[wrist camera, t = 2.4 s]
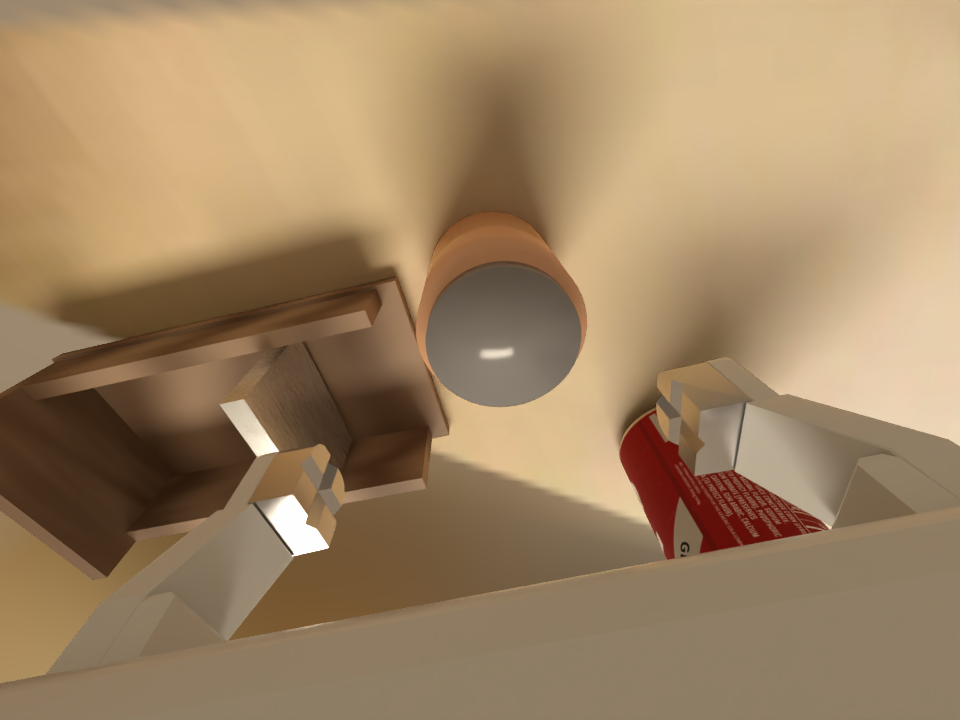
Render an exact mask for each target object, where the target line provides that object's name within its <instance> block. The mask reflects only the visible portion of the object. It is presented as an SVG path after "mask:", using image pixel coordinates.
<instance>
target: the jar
mask: <svg viewBox="0 0 960 720" xmlns="http://www.w3.org/2000/svg"><path fill="white" fill-rule="evenodd" d="M586 329H587V314H586V308H585V304H584V301H583V298H582V295H581V293H580V291H579V289H578V287H577V285H576V284H575V283H574V281H573V280H572V278H571V277H570V276H569V274H568V273H567V271H566V270H565V269H564V267H563V266H562V265H561V263H560V262H559V260H558V259H557V258H556V256H555V255H554V254H553V252H552V251H551V249H550V248H549V247H548V245H547V244H546V243H545V241H544V240H543V238H542V237H541V236H540V234H539V233H538V232H537V231H536V230H535V229H534V228H533V227H532V226H531V225H530V224H528V223H527V222H526V221H524V220H522V219H521V218H519V217H516V216H514V215H511V214H507V213H504V212H495V211H494V212H482V213H477V214H473V215H470V216H468V217H466V218H464V219H461V220H460V221H458V222H457V223H455V224H454V225H453V226H452V227H450V228H449V229H448V230H447V231H446V232H445V234H444V235H443V236H442V237H441V239H440V240H439V242H438V244H437V246H436V248H435V250H434V253H433V256H432V259H431V263H430V267H429V270H428V274H427V278H426V282H425V286H424V290H423V294H422V298H421V302H420V305H419V309H418V314H417V320H416V338H417V344H418V348H419V351H420V354H421V356H422V358H423V361H424V362H425V364H426V366H427V367H428V369H429V370H430V371H431V373H432V374H433V375H434V376H435V377H436V378H437V379H438V380H439V381H440V382H441V383H442V384H443V385H444V386H445V387H447V388H448V389H449V390H450V391H451V392H453V393H454V394H455V395H457V396H459V397H461V398H463V399H465V400H467V401H470V402H472V403H476V404H479V405H484V406H491V407H509V406H516V405H520V404H524V403H527V402H530V401H533V400H535V399H537V398H539V397H541V396H543V395H545V394H546V393H548V392H550V391H551V390H552V389H554V388H555V387H556V386H557V385H558V384H559V383H560V382H561V381H562V380H563V379H564V378H565V377H566V376H567V374H568V373H569V372H570V370H571V368H572V367H573V365H574V363H575V361H576V359H577V357H578V356H579V354H580V351H581V349H582V347H583V343H584V340H585V336H586Z"/></svg>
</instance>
